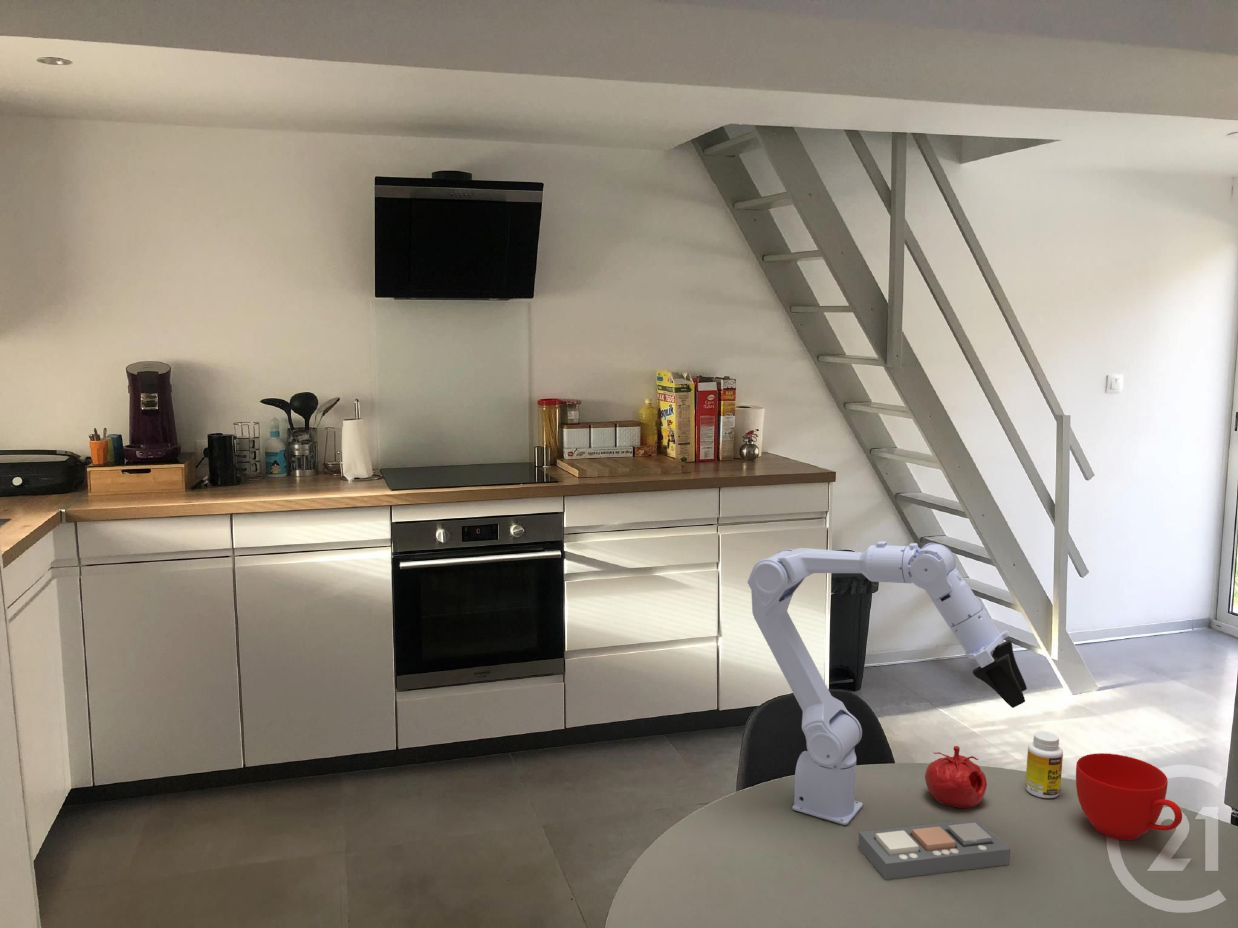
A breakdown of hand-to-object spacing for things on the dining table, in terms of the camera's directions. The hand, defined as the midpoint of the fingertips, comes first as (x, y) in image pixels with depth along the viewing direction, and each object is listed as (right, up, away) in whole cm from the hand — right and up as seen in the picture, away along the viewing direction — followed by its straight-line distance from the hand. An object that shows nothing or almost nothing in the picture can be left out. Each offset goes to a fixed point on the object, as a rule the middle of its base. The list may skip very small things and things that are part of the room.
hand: (1019, 697), depth 145 cm
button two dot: (-17, -24, +3) cm, 30 cm away
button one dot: (-5, -23, +6) cm, 25 cm away
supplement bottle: (+14, -22, +25) cm, 36 cm away
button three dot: (-11, -24, +5) cm, 27 cm away
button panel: (-11, -25, +5) cm, 28 cm away
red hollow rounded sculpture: (-2, -23, +23) cm, 32 cm away
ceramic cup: (+21, -25, +11) cm, 34 cm away
